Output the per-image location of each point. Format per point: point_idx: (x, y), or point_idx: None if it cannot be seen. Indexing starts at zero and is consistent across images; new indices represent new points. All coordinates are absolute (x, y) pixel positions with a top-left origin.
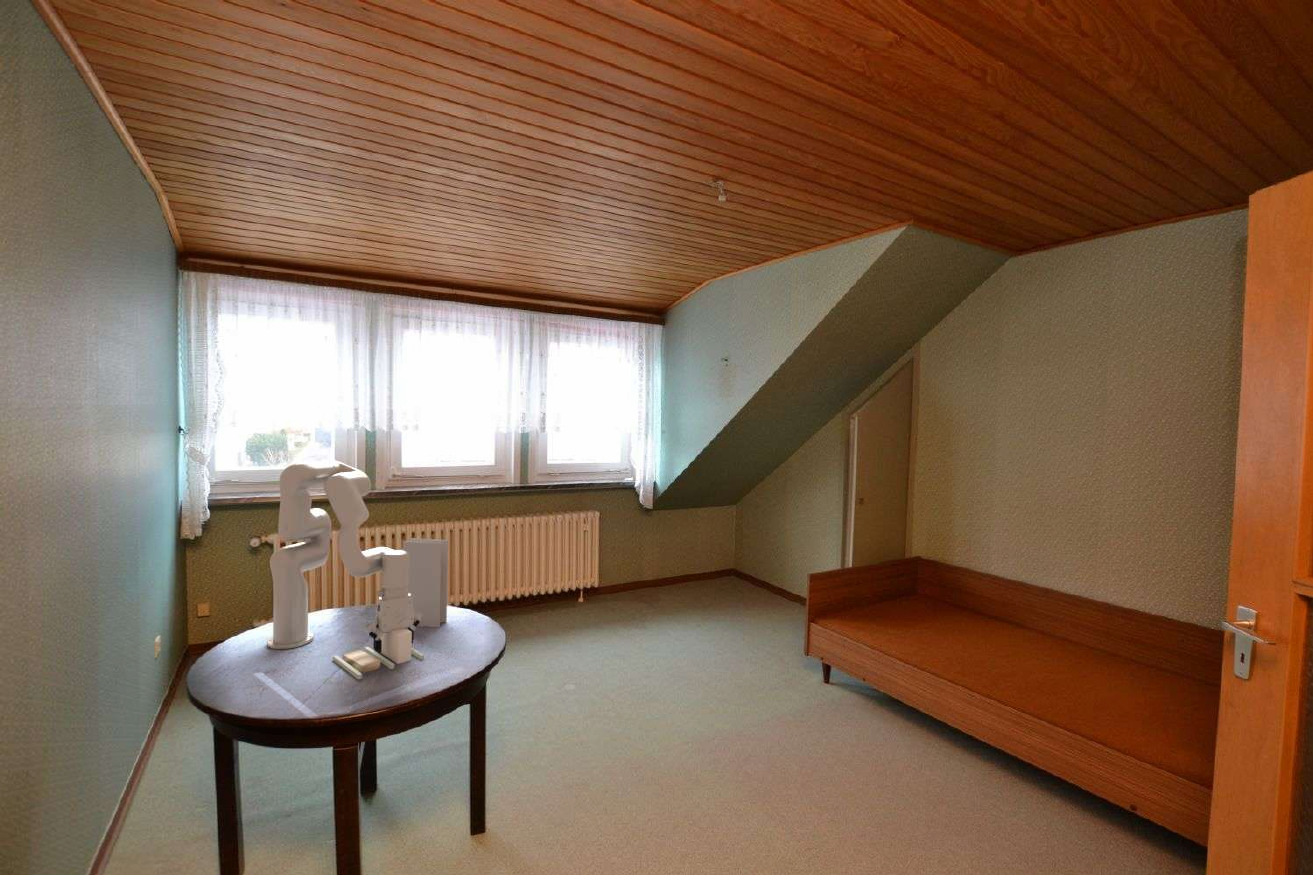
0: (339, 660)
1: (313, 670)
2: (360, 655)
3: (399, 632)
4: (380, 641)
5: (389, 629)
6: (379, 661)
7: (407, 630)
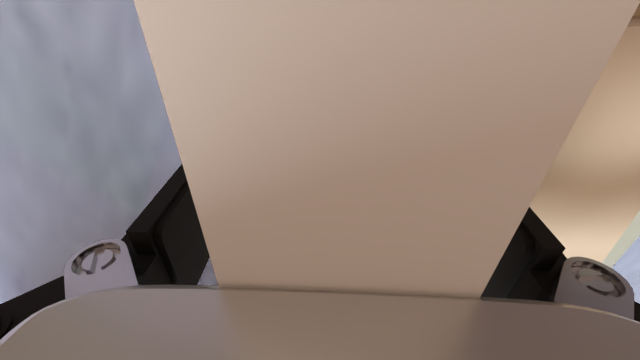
0: (614, 259)
1: (633, 275)
2: (550, 228)
3: (436, 156)
4: (541, 231)
5: (574, 349)
6: None
7: (215, 138)
